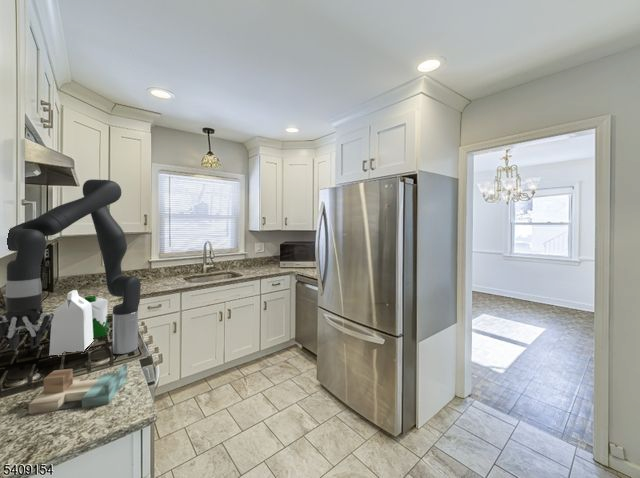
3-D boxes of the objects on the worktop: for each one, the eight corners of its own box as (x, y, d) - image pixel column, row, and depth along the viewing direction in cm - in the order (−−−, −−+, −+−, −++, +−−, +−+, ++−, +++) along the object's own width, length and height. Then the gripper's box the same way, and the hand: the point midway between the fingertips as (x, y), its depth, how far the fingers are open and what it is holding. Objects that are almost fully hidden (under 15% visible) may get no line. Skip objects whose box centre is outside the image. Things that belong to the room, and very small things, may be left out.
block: (54, 385, 89) (54, 370, 89) (72, 383, 91) (72, 368, 90) (43, 394, 84) (43, 378, 84) (63, 392, 86) (63, 376, 86)
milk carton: (80, 336, 134) (80, 296, 133) (102, 331, 142) (102, 293, 141) (88, 341, 130) (88, 299, 129) (110, 334, 137) (110, 295, 137)
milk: (61, 345, 124) (61, 289, 123) (93, 342, 129) (93, 287, 128) (49, 357, 113) (48, 295, 112) (84, 353, 118) (84, 293, 117)
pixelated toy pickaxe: (59, 386, 93) (59, 369, 93) (126, 379, 99) (126, 363, 99) (28, 414, 80) (28, 394, 80) (108, 403, 85) (108, 385, 85)
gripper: (60, 289, 89) (60, 341, 90) (4, 291, 85) (5, 344, 86) (44, 295, 82) (44, 351, 83) (-17, 297, 78) (-16, 355, 79)
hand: (24, 347), depth 85 cm, fingers open, 4 cm apart
